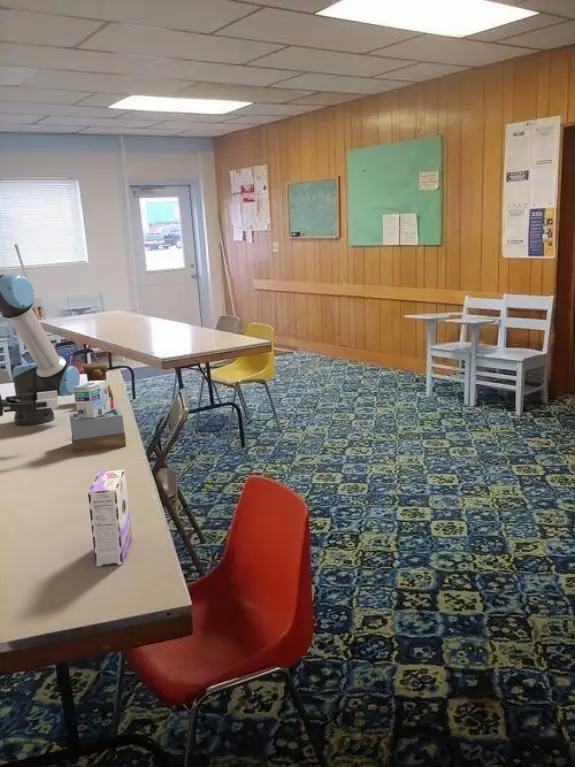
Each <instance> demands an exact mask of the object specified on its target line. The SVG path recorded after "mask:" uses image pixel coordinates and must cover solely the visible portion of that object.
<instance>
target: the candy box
mask: <svg viewBox="0 0 575 767" xmlns="http://www.w3.org/2000/svg"><path fill="white" fill-rule="evenodd" d="M87 496H88V505H89V514H90V525H91V533H92V542H93V543H92V546H93V551H94V552H93V554H94V563H95V567H108V566H110V567H112V566H122V565H124V563H125V560H126V556H127V554H128V551H129V547H130V544H131V541H132V539H133V533H132V526H131V525H132V522H131V514H130V506H129V495H128V487H127V477H126V469H114V470H113V469H112V470H102V471H99V472H98V474H97V475H96V478H95V479H94V481H93V483H92V485H91V486H90V488H89V490H88V492H87Z"/></svg>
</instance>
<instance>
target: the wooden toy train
mask: <svg viewBox="0 0 575 767" xmlns="http://www.w3.org/2000/svg"><path fill="white" fill-rule="evenodd" d="M82 367H83V374H84V375H86V379H87V382H89V381H104V380H107V372H109V369H108V363H106V362H97V363H88V364H83V365H82ZM107 385H108V384H107ZM108 392H109V397H111V400H112V401H113V402H114V394H113V390H112V389H111V386H110V384H109V385H108Z"/></svg>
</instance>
